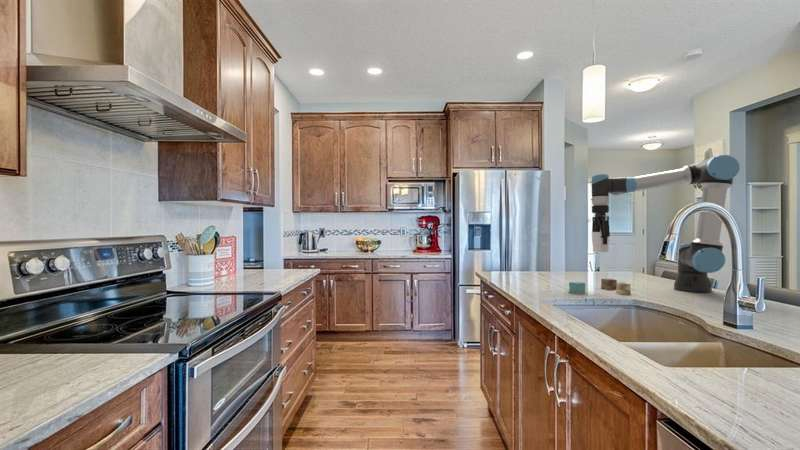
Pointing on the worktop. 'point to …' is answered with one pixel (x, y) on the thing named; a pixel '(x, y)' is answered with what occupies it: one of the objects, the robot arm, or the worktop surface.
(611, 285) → the walnut block
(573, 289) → the teal painted block
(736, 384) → the worktop surface
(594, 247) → the white cup
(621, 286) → the maple block
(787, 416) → the worktop surface
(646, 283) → the worktop surface
